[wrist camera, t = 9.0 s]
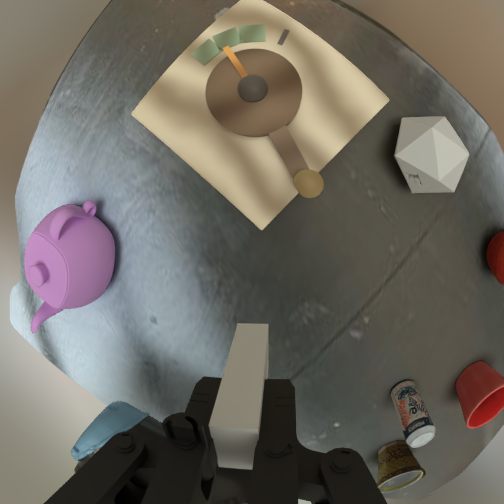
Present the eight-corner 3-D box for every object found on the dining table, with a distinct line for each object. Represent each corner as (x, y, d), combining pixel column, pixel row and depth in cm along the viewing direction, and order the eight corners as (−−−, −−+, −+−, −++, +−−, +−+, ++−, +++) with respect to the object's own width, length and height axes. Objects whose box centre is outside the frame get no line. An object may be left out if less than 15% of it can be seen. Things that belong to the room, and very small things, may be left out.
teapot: (74, 176, 34) (16, 186, 23) (140, 220, 35) (86, 245, 24) (49, 280, 40) (5, 308, 29) (103, 323, 41) (63, 363, 30)
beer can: (415, 375, 38) (439, 426, 26) (413, 393, 39) (434, 442, 27) (389, 384, 38) (409, 437, 27) (389, 401, 40) (406, 452, 28)
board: (262, 228, 33) (261, 231, 32) (135, 115, 31) (130, 114, 29) (386, 101, 27) (390, 99, 26) (250, -3, 24) (249, -8, 23)
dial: (192, 76, 27) (169, 56, 20) (268, 37, 25) (264, 7, 18) (268, 210, 31) (263, 222, 24) (348, 170, 29) (366, 172, 22)
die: (376, 117, 28) (383, 160, 23) (439, 93, 22) (467, 131, 17) (403, 170, 33) (412, 222, 27) (460, 151, 27) (483, 201, 21)
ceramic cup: (362, 459, 46) (367, 493, 36) (387, 434, 43) (397, 472, 33) (404, 458, 46) (412, 489, 36) (429, 435, 42) (441, 467, 33)
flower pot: (441, 402, 39) (458, 436, 30) (458, 360, 36) (481, 395, 27) (480, 389, 38) (498, 418, 28) (497, 348, 35) (521, 377, 25)
